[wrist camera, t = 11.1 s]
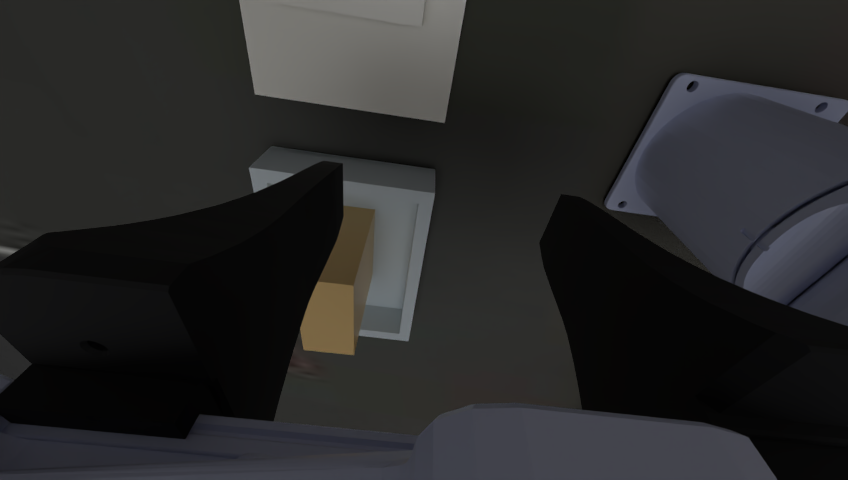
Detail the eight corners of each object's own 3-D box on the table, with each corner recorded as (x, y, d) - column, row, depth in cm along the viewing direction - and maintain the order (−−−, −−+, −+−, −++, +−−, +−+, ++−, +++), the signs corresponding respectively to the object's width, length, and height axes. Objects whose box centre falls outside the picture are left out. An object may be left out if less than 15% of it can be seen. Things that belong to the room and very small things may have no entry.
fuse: (375, 209, 22) (353, 285, 16) (372, 274, 25) (353, 355, 20) (329, 203, 22) (292, 278, 16) (333, 270, 25) (303, 349, 20)
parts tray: (435, 169, 20) (435, 193, 18) (410, 311, 29) (408, 341, 26) (271, 145, 20) (248, 167, 17) (294, 298, 28) (281, 326, 26)
